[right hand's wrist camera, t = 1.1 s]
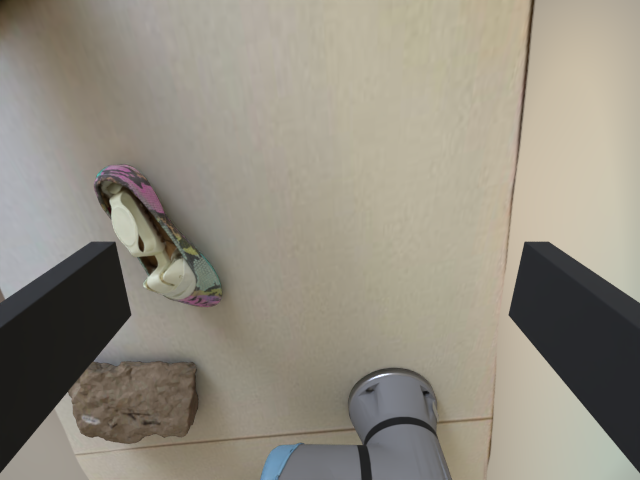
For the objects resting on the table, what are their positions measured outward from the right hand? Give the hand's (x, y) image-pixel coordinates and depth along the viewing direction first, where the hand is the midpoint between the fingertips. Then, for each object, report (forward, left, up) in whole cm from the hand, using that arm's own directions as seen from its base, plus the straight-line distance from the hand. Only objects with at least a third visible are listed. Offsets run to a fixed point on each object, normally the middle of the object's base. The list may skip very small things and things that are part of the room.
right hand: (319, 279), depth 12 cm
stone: (-44, +28, -40) cm, 66 cm away
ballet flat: (-16, +21, -40) cm, 48 cm away
